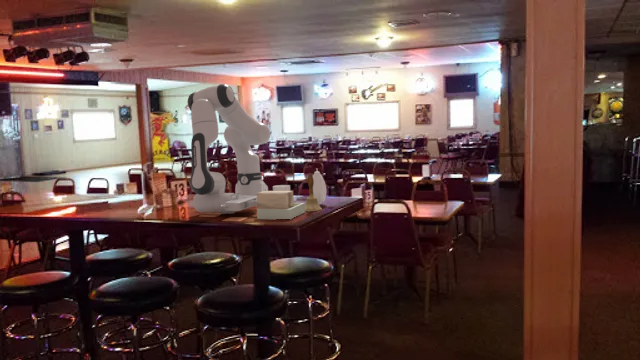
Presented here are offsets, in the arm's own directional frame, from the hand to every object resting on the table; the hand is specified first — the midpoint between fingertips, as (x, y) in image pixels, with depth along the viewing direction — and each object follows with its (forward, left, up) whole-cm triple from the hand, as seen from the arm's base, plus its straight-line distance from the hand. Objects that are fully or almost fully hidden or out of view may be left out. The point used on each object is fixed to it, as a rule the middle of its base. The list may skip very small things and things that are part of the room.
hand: (259, 203), depth 231 cm
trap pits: (+5, -14, -5) cm, 16 cm away
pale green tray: (0, +10, -5) cm, 11 cm away
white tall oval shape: (-31, +16, -5) cm, 35 cm away
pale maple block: (0, +7, -5) cm, 9 cm away
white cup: (-21, +2, -5) cm, 22 cm away
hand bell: (-16, +18, -5) cm, 25 cm away
